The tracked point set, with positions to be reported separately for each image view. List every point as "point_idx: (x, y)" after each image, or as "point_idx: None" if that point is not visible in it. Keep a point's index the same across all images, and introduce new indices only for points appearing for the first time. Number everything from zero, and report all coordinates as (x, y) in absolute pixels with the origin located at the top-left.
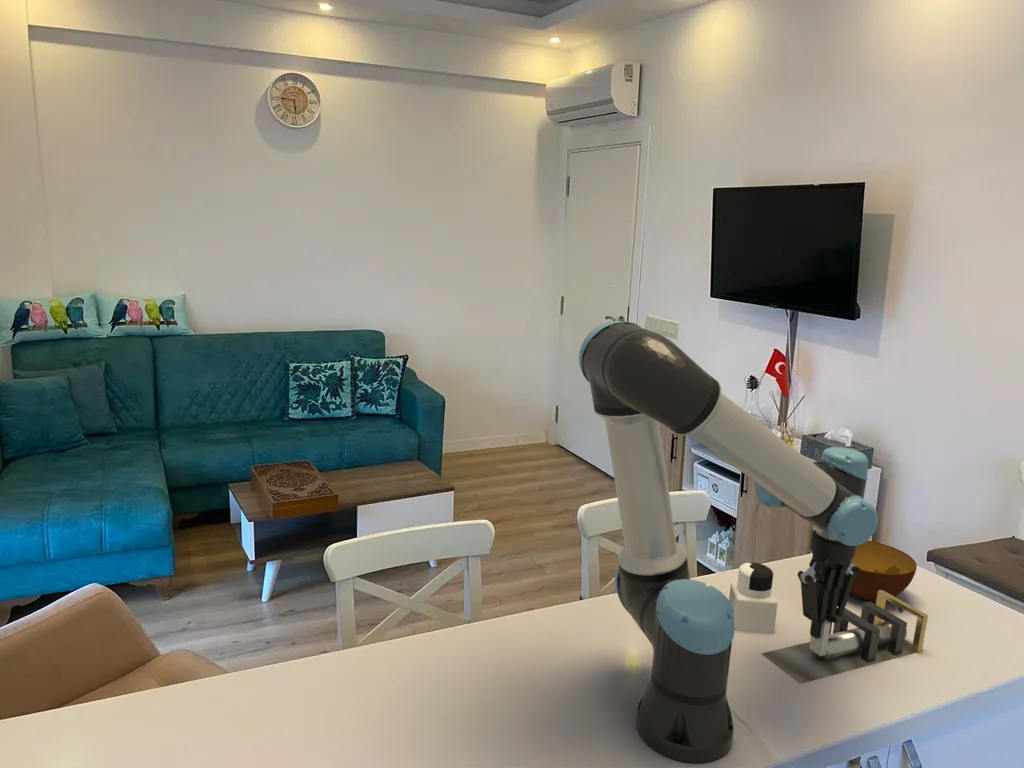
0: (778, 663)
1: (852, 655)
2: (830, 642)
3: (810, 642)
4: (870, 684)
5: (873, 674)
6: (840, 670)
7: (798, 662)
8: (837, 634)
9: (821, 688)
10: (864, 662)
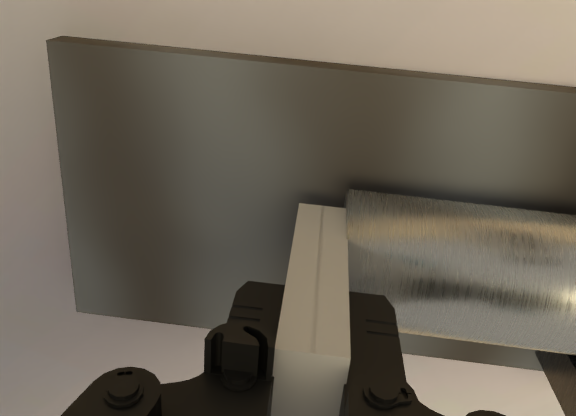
0: (84, 160)
1: None
2: None
3: (296, 224)
4: None
5: (499, 373)
6: None
7: (198, 200)
8: (497, 305)
9: (187, 332)
10: None
